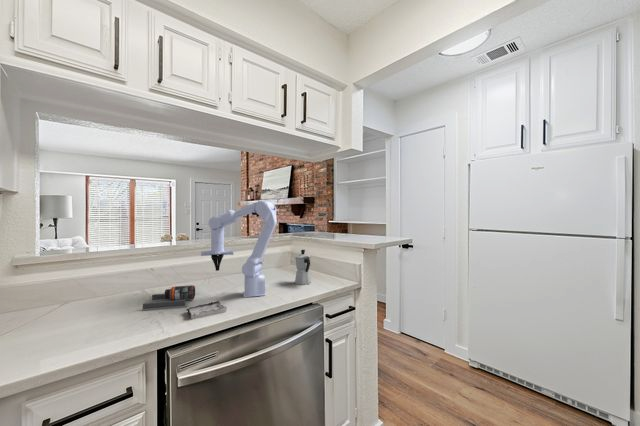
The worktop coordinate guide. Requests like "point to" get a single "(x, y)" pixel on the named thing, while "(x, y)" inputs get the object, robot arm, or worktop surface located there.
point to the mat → (164, 303)
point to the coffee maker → (302, 269)
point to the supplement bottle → (180, 293)
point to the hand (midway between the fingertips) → (217, 270)
